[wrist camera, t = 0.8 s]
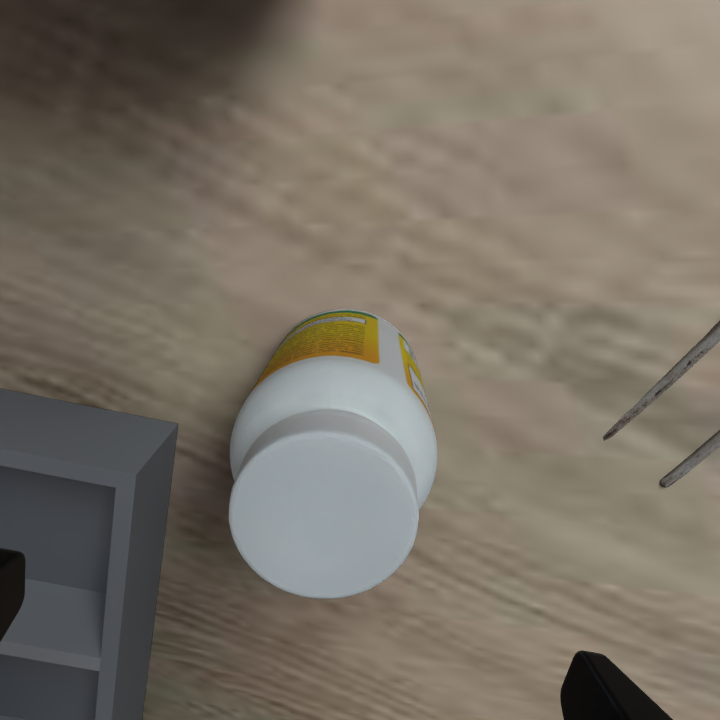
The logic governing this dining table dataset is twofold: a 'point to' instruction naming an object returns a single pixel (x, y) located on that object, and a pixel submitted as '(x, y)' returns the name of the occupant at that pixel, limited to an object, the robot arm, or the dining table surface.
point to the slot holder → (81, 555)
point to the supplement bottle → (332, 457)
